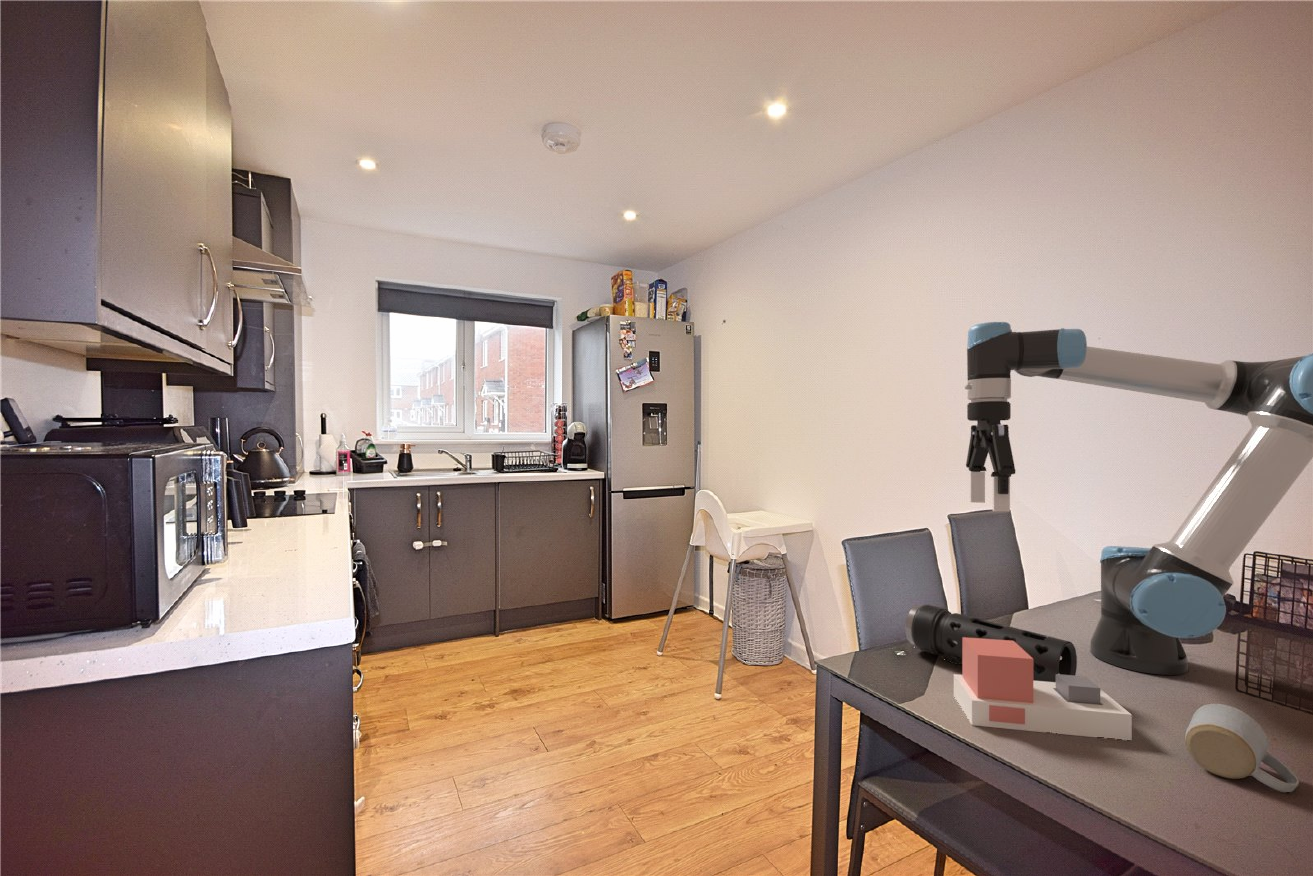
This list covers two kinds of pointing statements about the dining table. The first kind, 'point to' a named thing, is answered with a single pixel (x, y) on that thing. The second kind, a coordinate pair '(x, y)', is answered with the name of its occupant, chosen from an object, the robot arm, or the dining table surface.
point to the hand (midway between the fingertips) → (988, 506)
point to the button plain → (1077, 689)
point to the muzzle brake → (946, 630)
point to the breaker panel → (1046, 713)
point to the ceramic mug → (1234, 746)
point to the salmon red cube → (997, 669)
